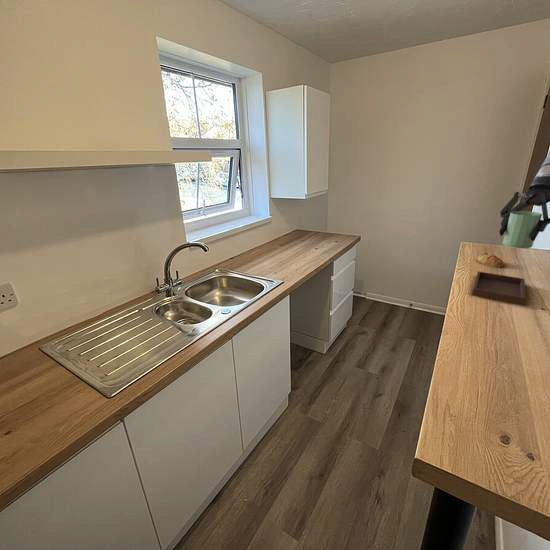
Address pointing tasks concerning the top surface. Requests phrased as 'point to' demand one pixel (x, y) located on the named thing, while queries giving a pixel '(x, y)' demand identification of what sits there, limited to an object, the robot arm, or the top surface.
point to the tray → (500, 288)
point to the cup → (521, 229)
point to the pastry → (490, 260)
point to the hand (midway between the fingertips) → (516, 235)
